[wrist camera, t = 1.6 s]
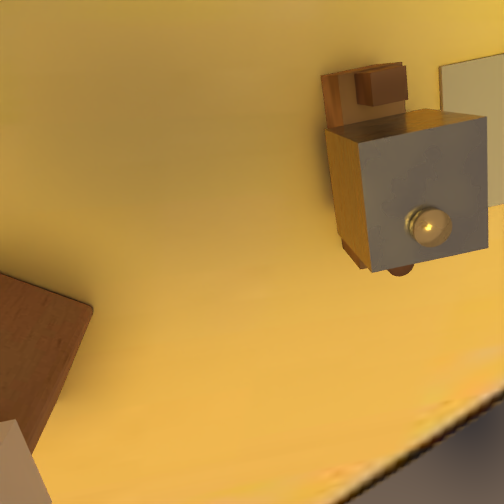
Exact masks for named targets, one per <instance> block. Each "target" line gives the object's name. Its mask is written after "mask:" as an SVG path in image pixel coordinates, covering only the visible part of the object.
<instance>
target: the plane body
mask: <svg viewBox="0 0 504 504" xmlns="http://www.w3.org/2000/svg"><path fill="white" fill-rule="evenodd" d="M321 81H322V89H323V96H324V104H325V112H326V120H327V128H333V127H338V126H343V125H348V124H353V123H357V122H362V121H367V120H372V119H377V118H382V117H386V116H391V115H396V114H401V113H406V111H405V100H408V90H407V75H406V66H402V62H397V63H386V64H376V65H371V66H366V67H362V68H357V69H352V70H347V71H342V72H337V73H332V74H327V75H322V76H321ZM342 244H343V249H344V250H345V251H346V252H347V254H348V255H349V256H350V257H351V258H352V260H353V261H354V262H355V263H356V265H357V266H358V267H359V268H360V269H364V268H367V267H366V265H365V264H364V263H363V262H362V261H361V260H360V258H359V257H358V256H357V255H356V254H355V253H354V251H353V250H352V249H351V248H350V247H349V246H348V244H347V243H346V242H345V241H344V240H343V239H342ZM413 266H414V264H410V265H406V266H401V267H396V268H392V269H387V270H388V271H389V272H390V273H391V274H392V275H394V276H404V275H406V274H408V273H409V272H410V271H411V270H412V268H413Z"/></svg>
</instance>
